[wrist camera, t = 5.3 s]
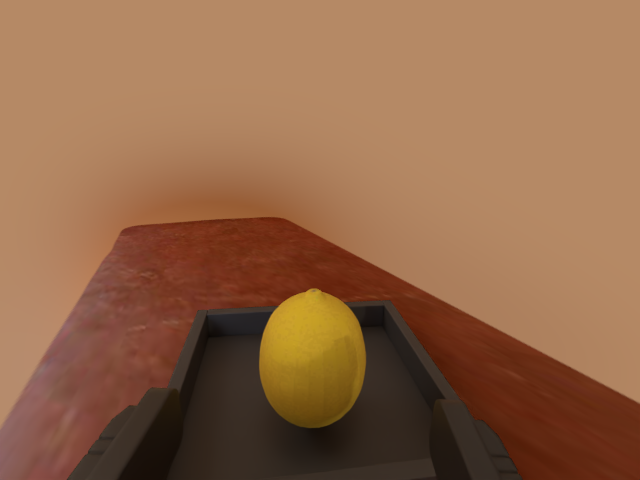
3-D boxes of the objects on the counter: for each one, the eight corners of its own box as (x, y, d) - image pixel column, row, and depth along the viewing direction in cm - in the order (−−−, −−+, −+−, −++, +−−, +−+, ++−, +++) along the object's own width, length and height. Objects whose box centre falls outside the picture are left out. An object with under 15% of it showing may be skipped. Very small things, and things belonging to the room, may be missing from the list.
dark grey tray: (387, 323, 28) (390, 299, 28) (497, 503, 15) (508, 465, 14) (200, 335, 26) (197, 309, 25) (124, 560, 12) (114, 519, 12)
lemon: (341, 375, 22) (347, 264, 19) (377, 451, 17) (391, 313, 14) (257, 391, 20) (251, 272, 18) (267, 478, 15) (262, 330, 13)
